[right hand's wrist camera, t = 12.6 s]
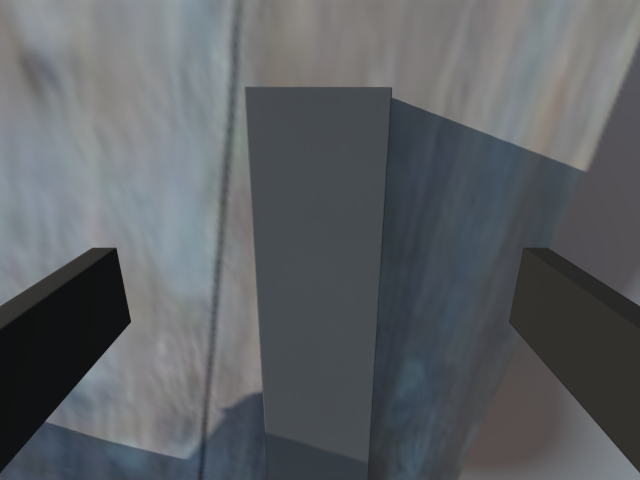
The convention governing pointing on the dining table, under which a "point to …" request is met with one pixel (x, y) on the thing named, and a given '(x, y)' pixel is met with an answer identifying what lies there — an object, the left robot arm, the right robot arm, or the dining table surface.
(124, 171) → the dining table surface
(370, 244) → the wide beam
